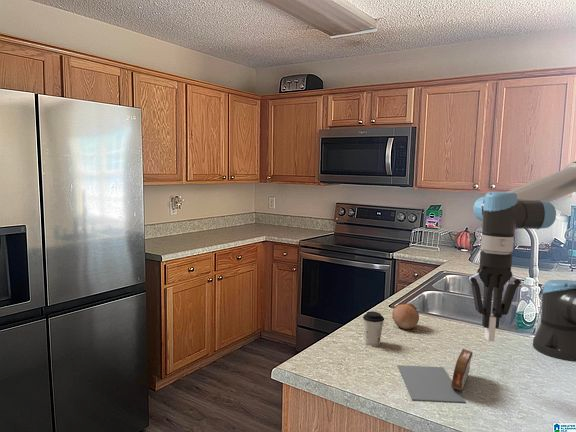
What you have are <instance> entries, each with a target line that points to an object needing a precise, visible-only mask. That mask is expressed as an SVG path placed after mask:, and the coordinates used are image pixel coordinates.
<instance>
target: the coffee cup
mask: <svg viewBox="0 0 576 432" xmlns="http://www.w3.org/2000/svg"><path fill="white" fill-rule="evenodd" d="M362 319H363V328H364V329H363V330H364V341H365V344H366V345H367V346H371V347H378V346H380V343H381V337H382V331H383V326H384V321H385V318H384V316H383V315H382V314H381V313H380V312H377V311H373V310H372V311H367V312H366V313H365V314H363V316H362Z"/></svg>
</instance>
